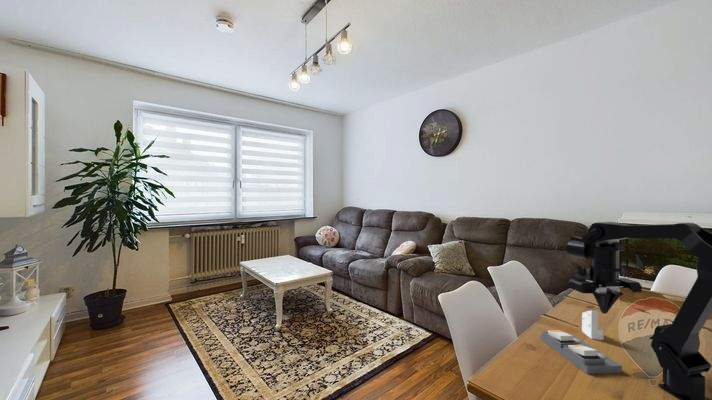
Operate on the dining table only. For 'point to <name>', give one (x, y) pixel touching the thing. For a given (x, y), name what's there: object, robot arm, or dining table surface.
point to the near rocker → (583, 350)
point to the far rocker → (560, 335)
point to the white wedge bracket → (591, 325)
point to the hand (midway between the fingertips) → (603, 313)
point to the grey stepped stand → (583, 362)
